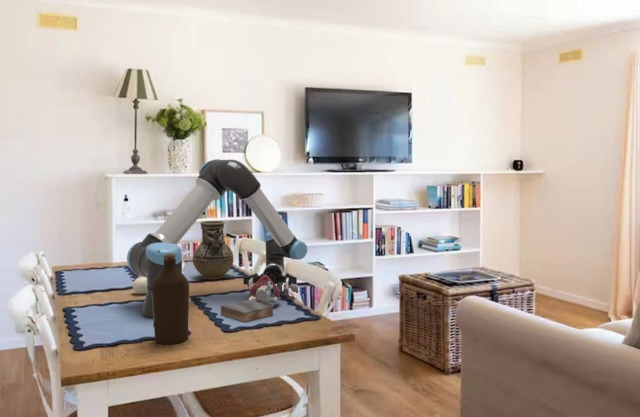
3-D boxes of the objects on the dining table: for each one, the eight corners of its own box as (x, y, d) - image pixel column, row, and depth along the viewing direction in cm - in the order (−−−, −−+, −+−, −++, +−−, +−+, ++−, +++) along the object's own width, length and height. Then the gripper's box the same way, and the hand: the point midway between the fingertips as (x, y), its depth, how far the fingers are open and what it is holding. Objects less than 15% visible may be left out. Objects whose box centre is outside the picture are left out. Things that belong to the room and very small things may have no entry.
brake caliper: (285, 294, 214) (279, 273, 206) (279, 319, 206) (273, 297, 198) (255, 293, 216) (249, 272, 208) (248, 317, 208) (241, 296, 200)
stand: (244, 322, 187) (244, 313, 187) (220, 314, 196) (220, 305, 196) (272, 315, 195) (272, 306, 195) (249, 308, 204) (249, 299, 204)
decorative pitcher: (190, 274, 265) (189, 220, 263) (228, 271, 271) (228, 218, 269) (196, 284, 245) (195, 225, 243) (238, 281, 251) (237, 223, 249)
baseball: (141, 291, 232) (141, 274, 231) (155, 293, 228) (154, 276, 228) (128, 294, 226) (128, 277, 225) (142, 296, 222) (141, 279, 222)
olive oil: (195, 335, 173) (194, 252, 171) (181, 346, 163) (179, 258, 161) (162, 333, 175) (160, 251, 173) (146, 344, 165) (143, 257, 163)
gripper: (304, 283, 234) (302, 295, 213) (242, 283, 234) (234, 295, 213) (303, 264, 234) (302, 275, 212) (241, 264, 234) (234, 275, 212)
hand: (268, 285), depth 213 cm, fingers open, 13 cm apart
